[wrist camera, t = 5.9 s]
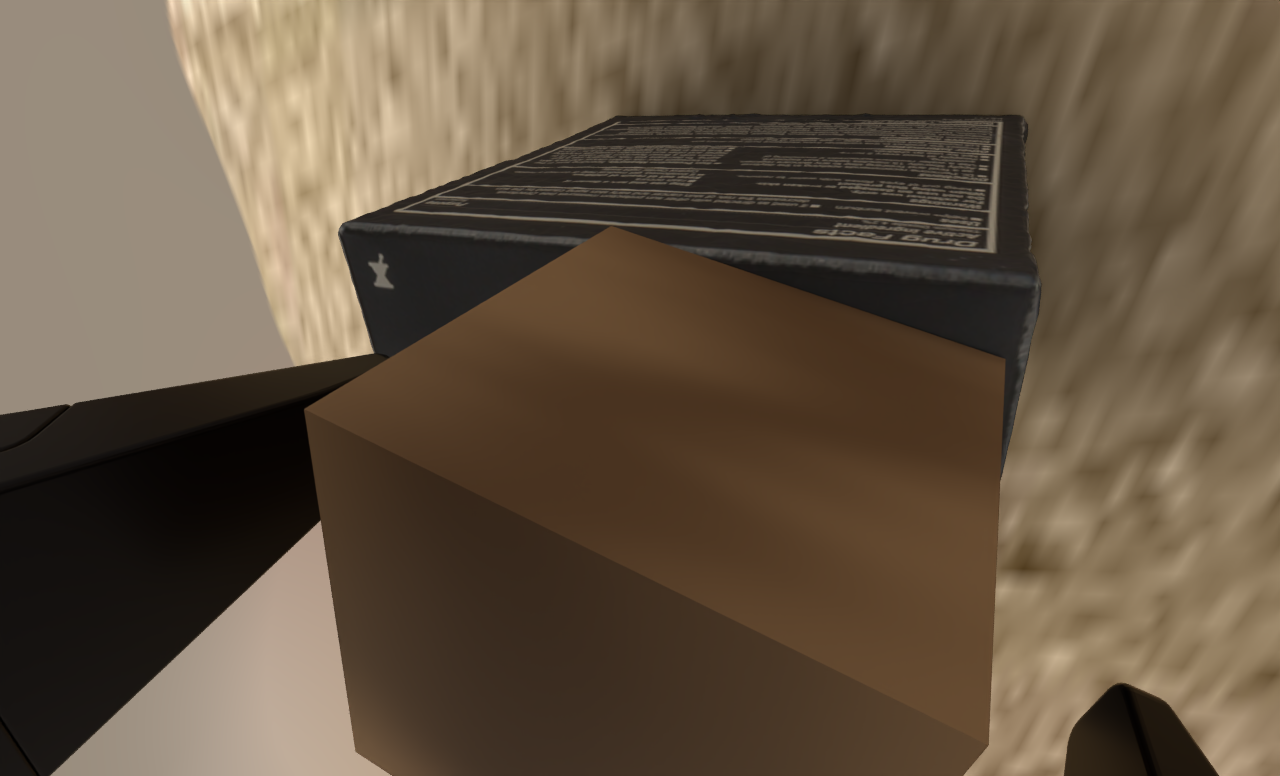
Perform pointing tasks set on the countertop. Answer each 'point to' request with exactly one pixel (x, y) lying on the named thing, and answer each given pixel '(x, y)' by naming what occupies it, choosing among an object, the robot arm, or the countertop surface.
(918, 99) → the countertop surface
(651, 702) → the block
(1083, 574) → the countertop surface
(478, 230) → the small box
